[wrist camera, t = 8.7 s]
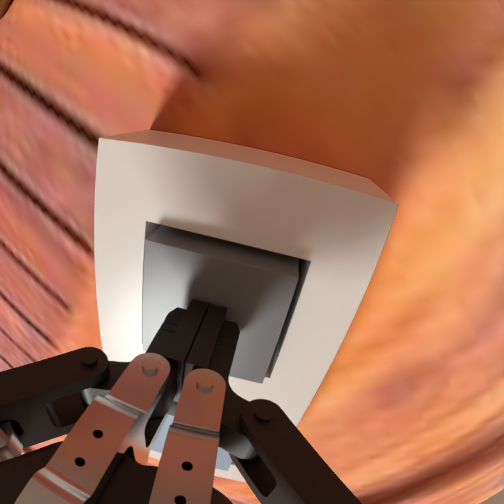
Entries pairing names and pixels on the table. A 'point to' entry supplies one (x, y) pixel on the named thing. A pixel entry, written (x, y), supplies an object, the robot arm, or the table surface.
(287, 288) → the charcoal key
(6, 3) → the stuffed squirrel
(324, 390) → the table surface
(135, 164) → the white switch panel
